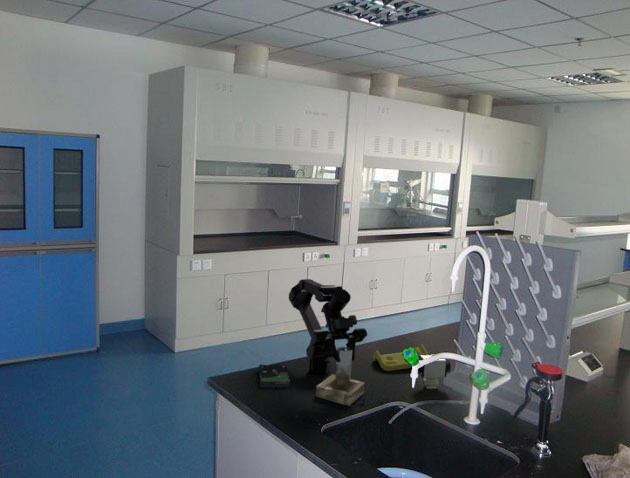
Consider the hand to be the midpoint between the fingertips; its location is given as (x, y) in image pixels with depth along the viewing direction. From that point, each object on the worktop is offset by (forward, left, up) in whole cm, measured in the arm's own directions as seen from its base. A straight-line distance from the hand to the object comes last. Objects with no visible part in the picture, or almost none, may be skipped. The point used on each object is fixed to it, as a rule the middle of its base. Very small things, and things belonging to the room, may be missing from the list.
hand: (345, 360), depth 166 cm
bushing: (-1, +1, -7) cm, 7 cm away
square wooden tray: (-1, +1, -12) cm, 12 cm away
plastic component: (+7, +38, -13) cm, 41 cm away
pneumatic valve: (+22, +25, -12) cm, 35 cm away
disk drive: (-26, -1, -13) cm, 29 cm away
